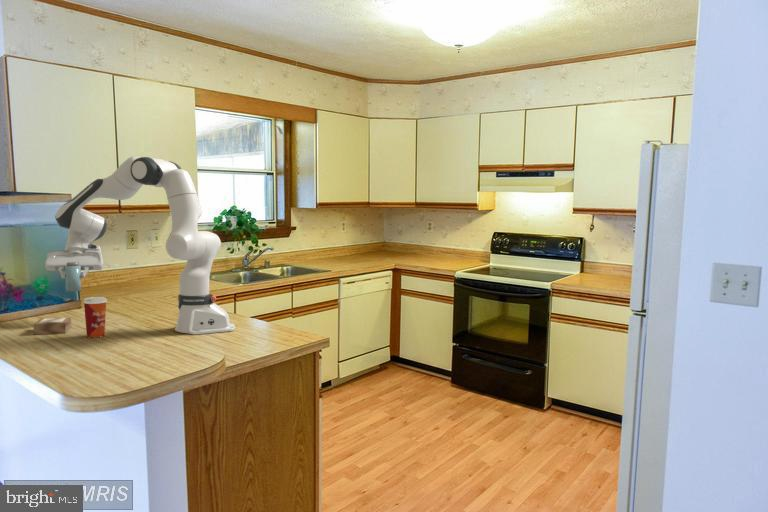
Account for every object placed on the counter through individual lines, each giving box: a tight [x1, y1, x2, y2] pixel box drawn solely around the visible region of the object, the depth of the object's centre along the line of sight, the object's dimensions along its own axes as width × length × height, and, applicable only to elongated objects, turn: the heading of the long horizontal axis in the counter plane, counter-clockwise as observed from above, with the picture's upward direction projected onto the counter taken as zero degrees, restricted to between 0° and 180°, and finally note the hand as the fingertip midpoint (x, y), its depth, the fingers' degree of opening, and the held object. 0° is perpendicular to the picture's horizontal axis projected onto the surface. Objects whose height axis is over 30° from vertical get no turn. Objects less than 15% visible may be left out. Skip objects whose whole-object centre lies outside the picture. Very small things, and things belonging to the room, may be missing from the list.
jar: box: [64, 262, 82, 292], centre depth 204 cm, size 5×5×11 cm
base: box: [33, 317, 72, 336], centre depth 193 cm, size 10×10×4 cm
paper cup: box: [82, 296, 108, 338], centre depth 188 cm, size 8×8×14 cm
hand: (72, 277), depth 203 cm, fingers closed on jar, 5 cm apart
